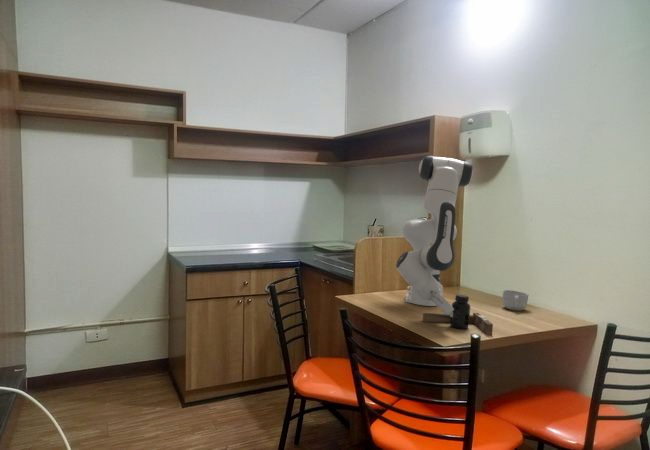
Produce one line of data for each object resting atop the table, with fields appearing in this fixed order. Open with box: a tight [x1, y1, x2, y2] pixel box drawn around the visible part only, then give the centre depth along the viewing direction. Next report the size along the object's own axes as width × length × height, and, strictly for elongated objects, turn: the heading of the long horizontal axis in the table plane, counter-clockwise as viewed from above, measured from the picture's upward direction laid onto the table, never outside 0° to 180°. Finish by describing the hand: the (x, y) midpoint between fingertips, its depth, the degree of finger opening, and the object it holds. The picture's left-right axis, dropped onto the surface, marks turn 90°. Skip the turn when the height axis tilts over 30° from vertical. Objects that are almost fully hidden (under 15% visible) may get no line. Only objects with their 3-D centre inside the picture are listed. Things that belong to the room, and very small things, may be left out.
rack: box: [422, 312, 494, 336], centre depth 174 cm, size 16×22×4 cm
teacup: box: [502, 289, 529, 312], centre depth 207 cm, size 14×11×8 cm
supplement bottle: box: [449, 294, 471, 330], centre depth 174 cm, size 7×7×12 cm
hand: (452, 315), depth 175 cm, fingers closed, pressing on supplement bottle
